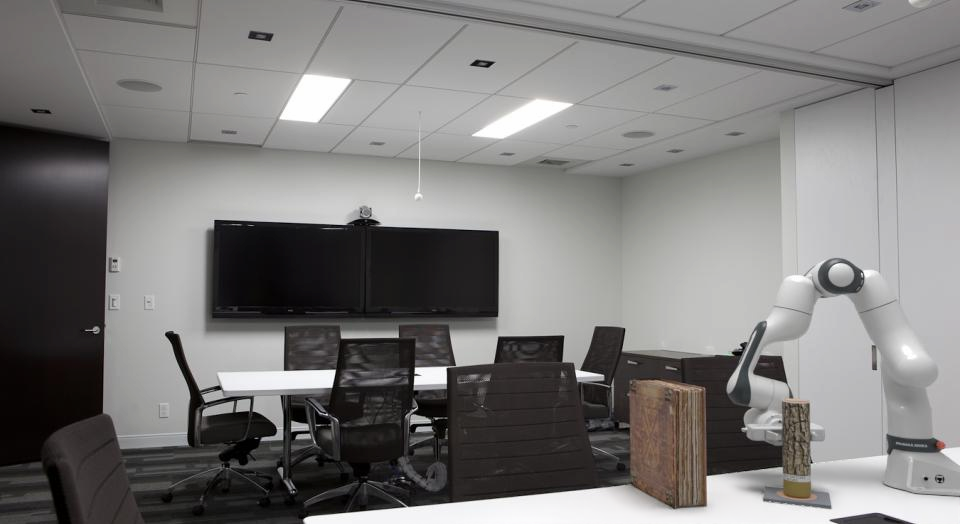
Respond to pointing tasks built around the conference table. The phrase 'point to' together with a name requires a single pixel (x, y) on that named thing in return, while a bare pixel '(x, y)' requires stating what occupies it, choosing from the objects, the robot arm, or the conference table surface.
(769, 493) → the card
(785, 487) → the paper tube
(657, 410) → the book
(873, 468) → the conference table surface
